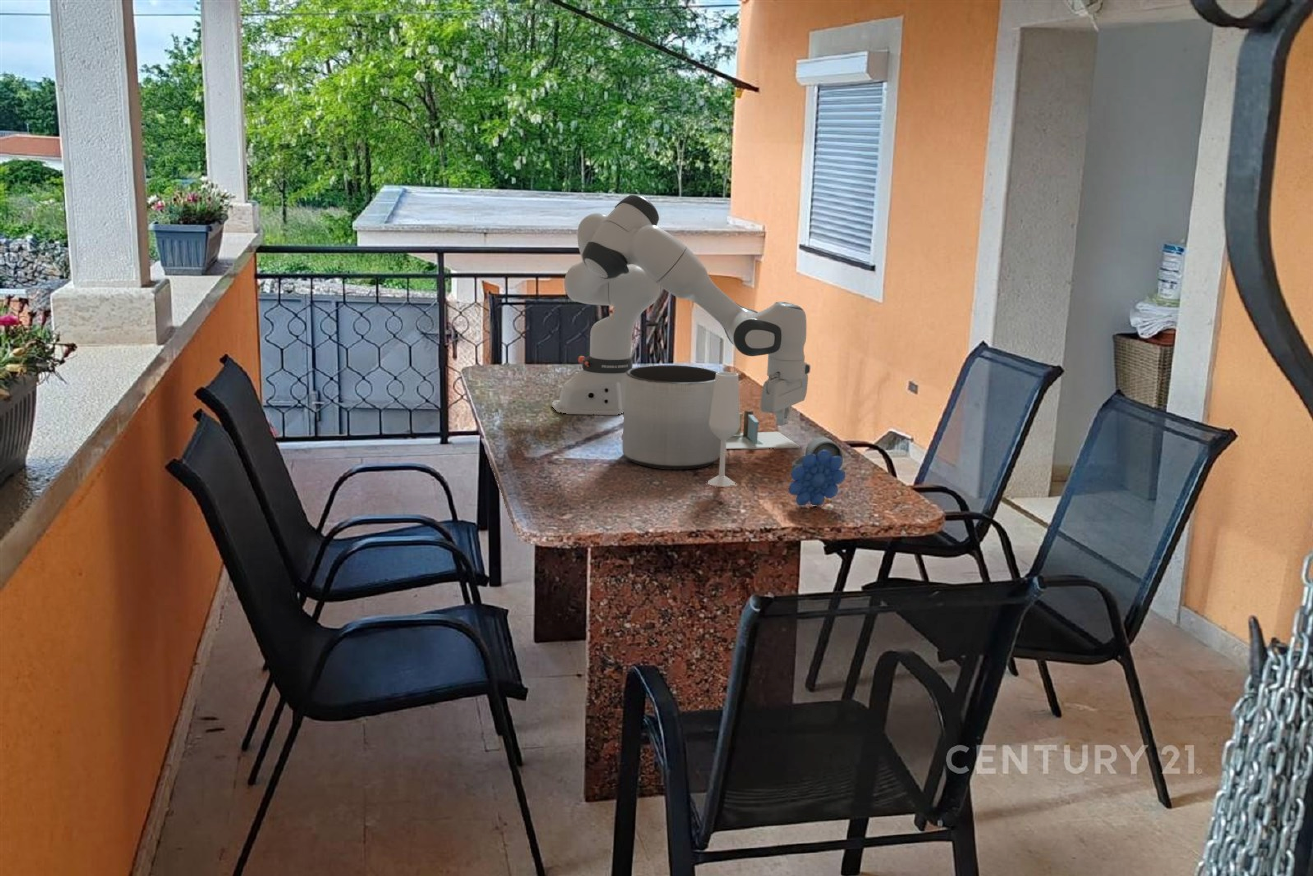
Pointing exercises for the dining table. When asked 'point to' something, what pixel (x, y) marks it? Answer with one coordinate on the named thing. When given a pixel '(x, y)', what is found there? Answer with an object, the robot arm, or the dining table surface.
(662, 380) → the planter
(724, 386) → the champagne flute
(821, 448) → the ceramic mug
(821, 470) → the grapes
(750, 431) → the light blue rectangular panel
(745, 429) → the pine fence section
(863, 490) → the dining table surface
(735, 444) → the card
